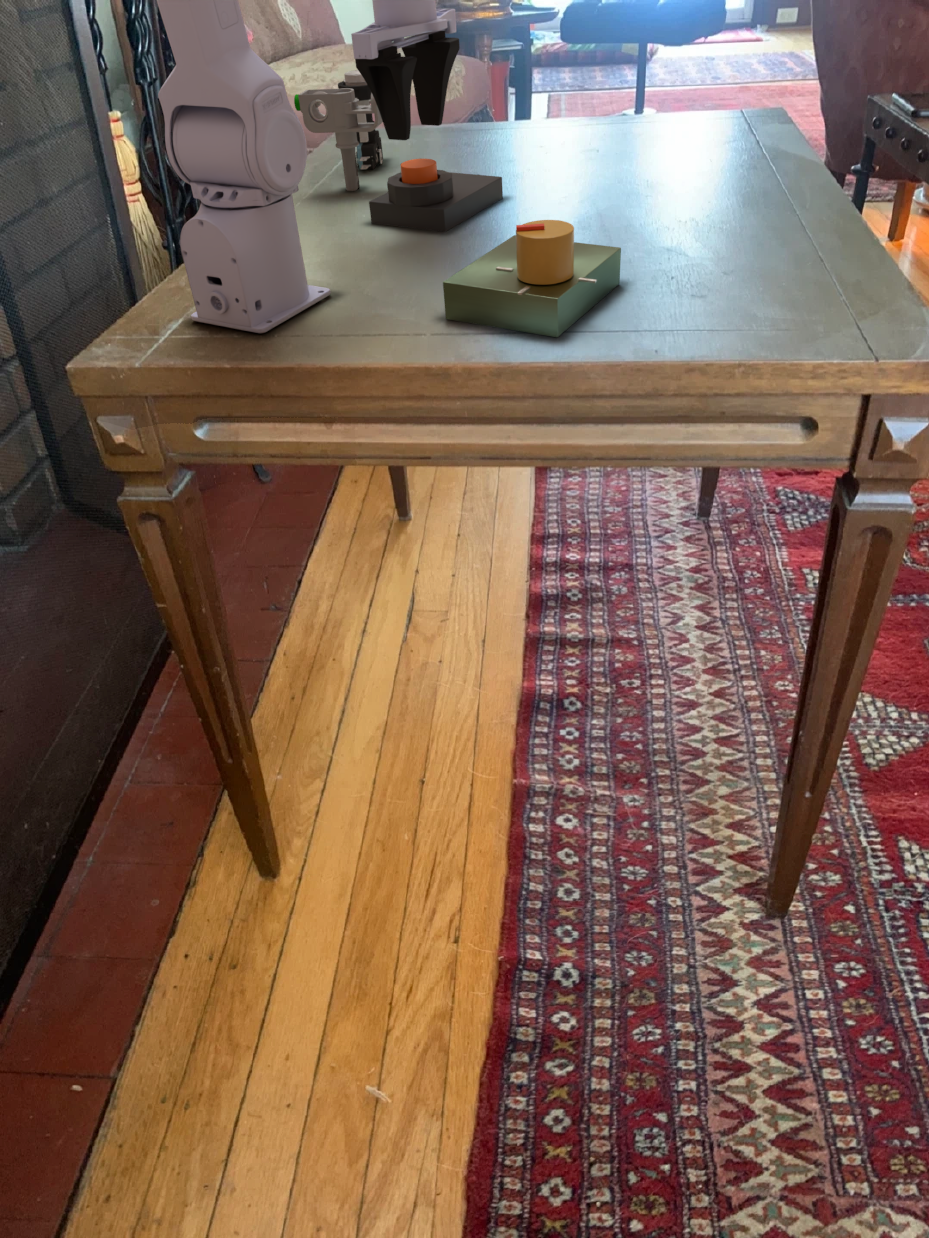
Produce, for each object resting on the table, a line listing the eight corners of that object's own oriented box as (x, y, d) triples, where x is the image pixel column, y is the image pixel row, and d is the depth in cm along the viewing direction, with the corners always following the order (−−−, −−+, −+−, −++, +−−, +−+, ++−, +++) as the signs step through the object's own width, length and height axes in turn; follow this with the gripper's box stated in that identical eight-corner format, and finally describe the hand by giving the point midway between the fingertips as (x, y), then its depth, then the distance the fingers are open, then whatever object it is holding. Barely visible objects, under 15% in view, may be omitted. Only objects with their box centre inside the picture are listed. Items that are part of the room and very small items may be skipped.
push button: (385, 173, 110) (374, 78, 104) (342, 175, 111) (329, 80, 105) (395, 159, 115) (385, 67, 109) (353, 160, 116) (341, 69, 110)
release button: (425, 188, 91) (424, 169, 90) (395, 185, 93) (393, 166, 91) (444, 178, 93) (443, 159, 92) (414, 175, 95) (412, 157, 94)
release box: (444, 233, 91) (440, 190, 89) (369, 224, 95) (364, 183, 92) (503, 198, 99) (501, 158, 97) (432, 191, 103) (429, 152, 100)
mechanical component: (392, 193, 104) (381, 92, 97) (306, 193, 106) (290, 95, 99) (399, 185, 106) (389, 86, 99) (314, 186, 108) (299, 89, 101)
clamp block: (571, 341, 69) (571, 300, 67) (443, 320, 74) (440, 281, 72) (634, 285, 77) (636, 247, 75) (514, 269, 82) (513, 233, 80)
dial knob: (571, 263, 74) (571, 213, 71) (576, 283, 70) (576, 231, 68) (516, 267, 74) (514, 217, 71) (518, 287, 70) (516, 235, 68)
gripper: (392, -29, 75) (409, 153, 84) (480, -49, 84) (487, 117, 93) (323, -28, 78) (346, 148, 87) (415, -47, 87) (428, 113, 96)
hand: (415, 132), depth 90 cm, fingers open, 5 cm apart
